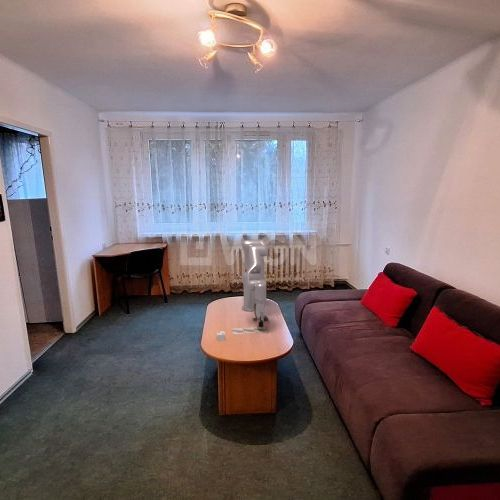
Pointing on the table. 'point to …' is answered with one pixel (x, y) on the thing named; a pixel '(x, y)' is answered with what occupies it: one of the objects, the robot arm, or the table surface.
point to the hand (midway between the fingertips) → (260, 325)
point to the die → (221, 336)
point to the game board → (248, 330)
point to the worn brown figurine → (256, 316)
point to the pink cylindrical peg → (258, 324)
